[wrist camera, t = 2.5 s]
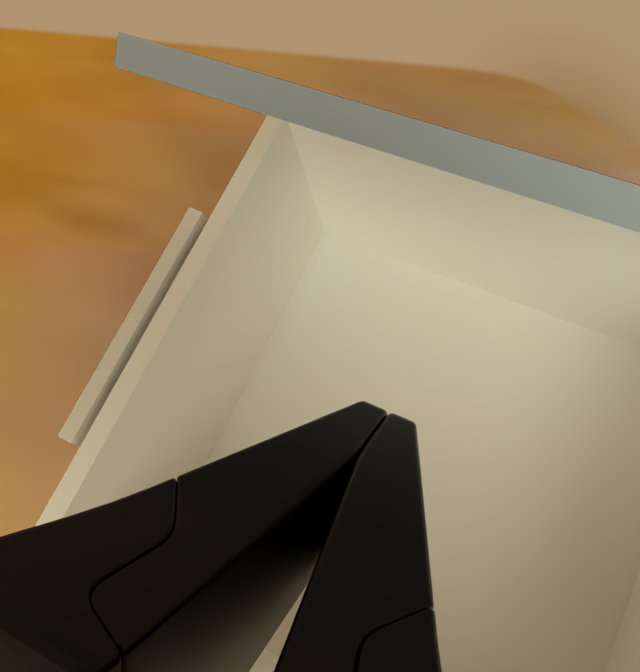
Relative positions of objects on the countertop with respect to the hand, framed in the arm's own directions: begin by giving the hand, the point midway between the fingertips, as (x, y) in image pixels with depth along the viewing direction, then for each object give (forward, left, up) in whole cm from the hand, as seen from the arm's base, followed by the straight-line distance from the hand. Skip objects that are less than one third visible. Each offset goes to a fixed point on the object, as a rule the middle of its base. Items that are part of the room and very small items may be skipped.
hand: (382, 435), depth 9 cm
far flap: (+1, -5, -1) cm, 5 cm away
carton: (0, -1, -11) cm, 11 cm away
